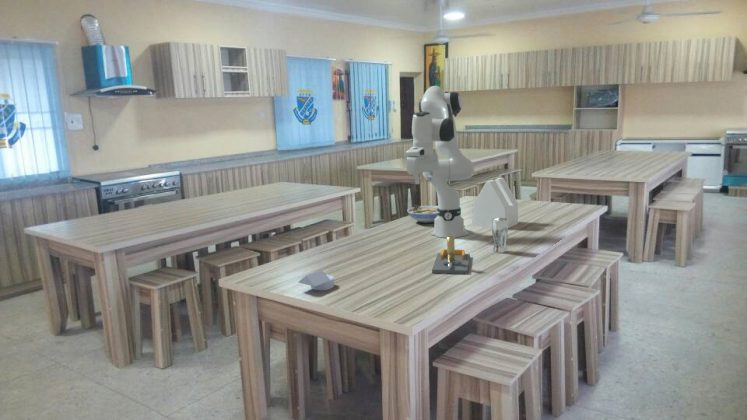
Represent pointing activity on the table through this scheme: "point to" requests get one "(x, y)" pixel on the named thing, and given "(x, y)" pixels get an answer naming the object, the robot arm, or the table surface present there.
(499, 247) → the beer glass
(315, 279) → the wedge on round base
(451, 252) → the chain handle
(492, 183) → the milk carton
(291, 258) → the table surface
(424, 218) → the ramen bowl
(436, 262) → the rail board
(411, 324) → the table surface
